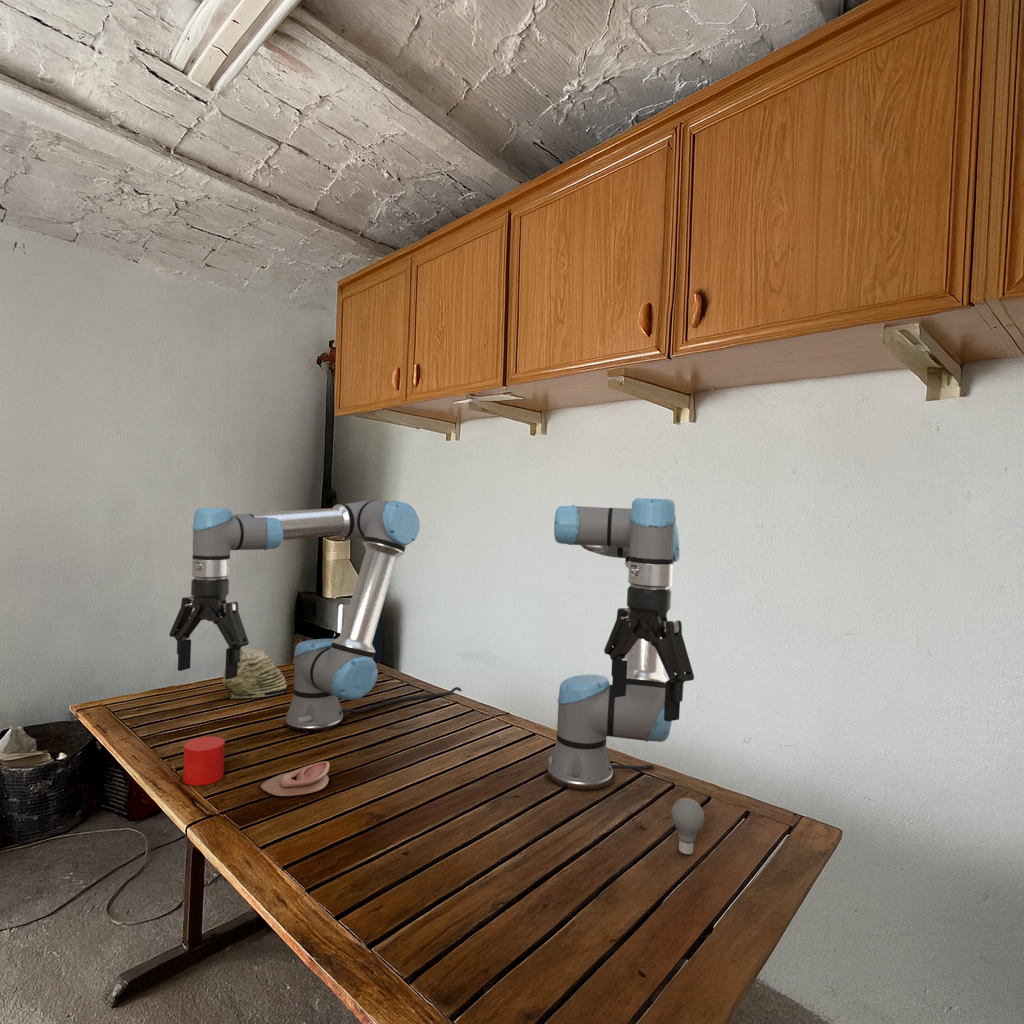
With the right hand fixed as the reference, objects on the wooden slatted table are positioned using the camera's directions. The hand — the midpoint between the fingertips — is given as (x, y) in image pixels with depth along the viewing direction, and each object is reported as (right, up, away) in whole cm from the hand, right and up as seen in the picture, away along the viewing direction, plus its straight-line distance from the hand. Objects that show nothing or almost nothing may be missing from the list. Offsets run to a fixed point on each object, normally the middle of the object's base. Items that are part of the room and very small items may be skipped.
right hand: (643, 707), depth 111 cm
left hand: (-91, -2, +29) cm, 95 cm away
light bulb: (+9, -29, +7) cm, 32 cm away
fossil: (-104, -23, +87) cm, 137 cm away
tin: (-92, -25, +30) cm, 99 cm away
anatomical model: (-70, -26, +27) cm, 80 cm away
